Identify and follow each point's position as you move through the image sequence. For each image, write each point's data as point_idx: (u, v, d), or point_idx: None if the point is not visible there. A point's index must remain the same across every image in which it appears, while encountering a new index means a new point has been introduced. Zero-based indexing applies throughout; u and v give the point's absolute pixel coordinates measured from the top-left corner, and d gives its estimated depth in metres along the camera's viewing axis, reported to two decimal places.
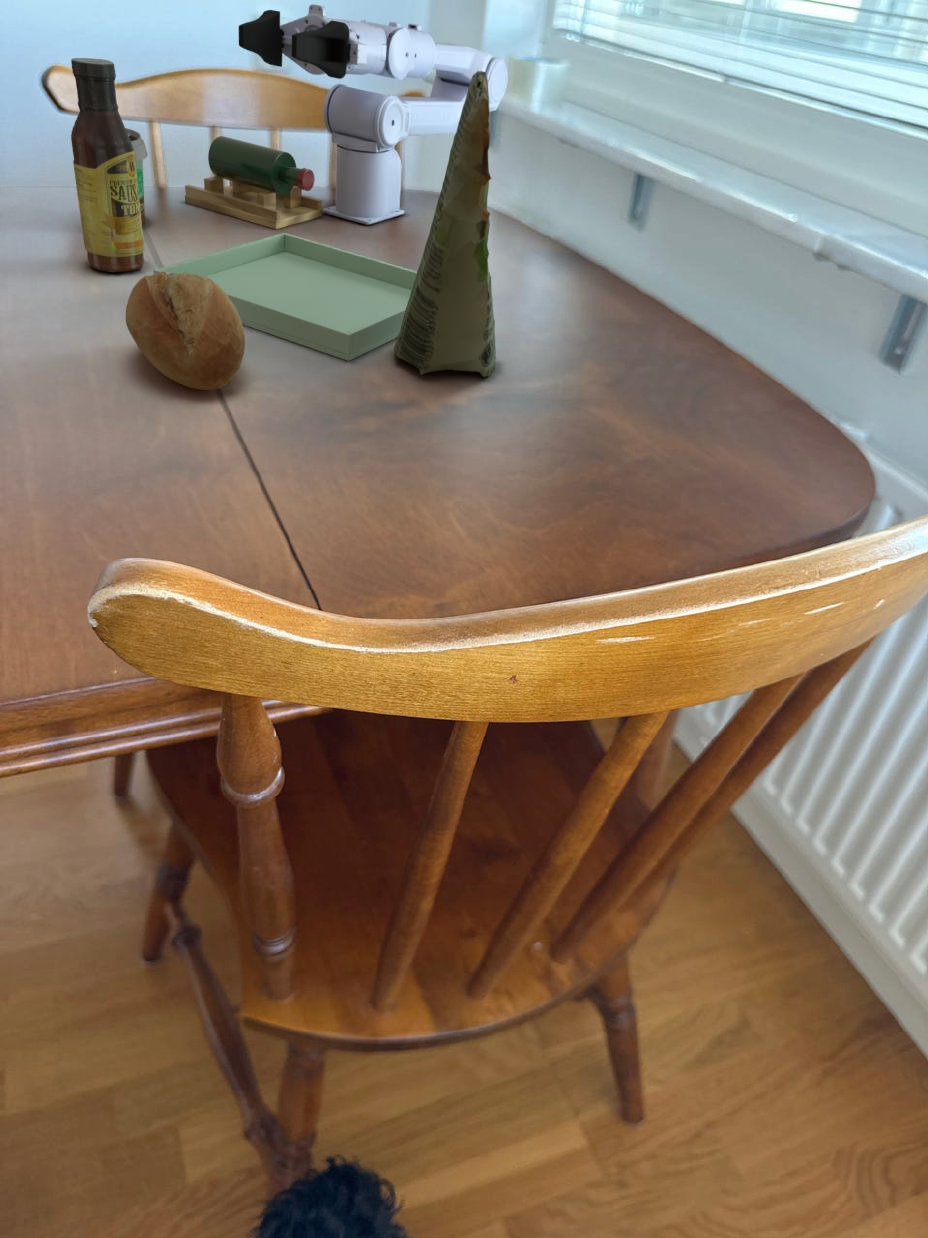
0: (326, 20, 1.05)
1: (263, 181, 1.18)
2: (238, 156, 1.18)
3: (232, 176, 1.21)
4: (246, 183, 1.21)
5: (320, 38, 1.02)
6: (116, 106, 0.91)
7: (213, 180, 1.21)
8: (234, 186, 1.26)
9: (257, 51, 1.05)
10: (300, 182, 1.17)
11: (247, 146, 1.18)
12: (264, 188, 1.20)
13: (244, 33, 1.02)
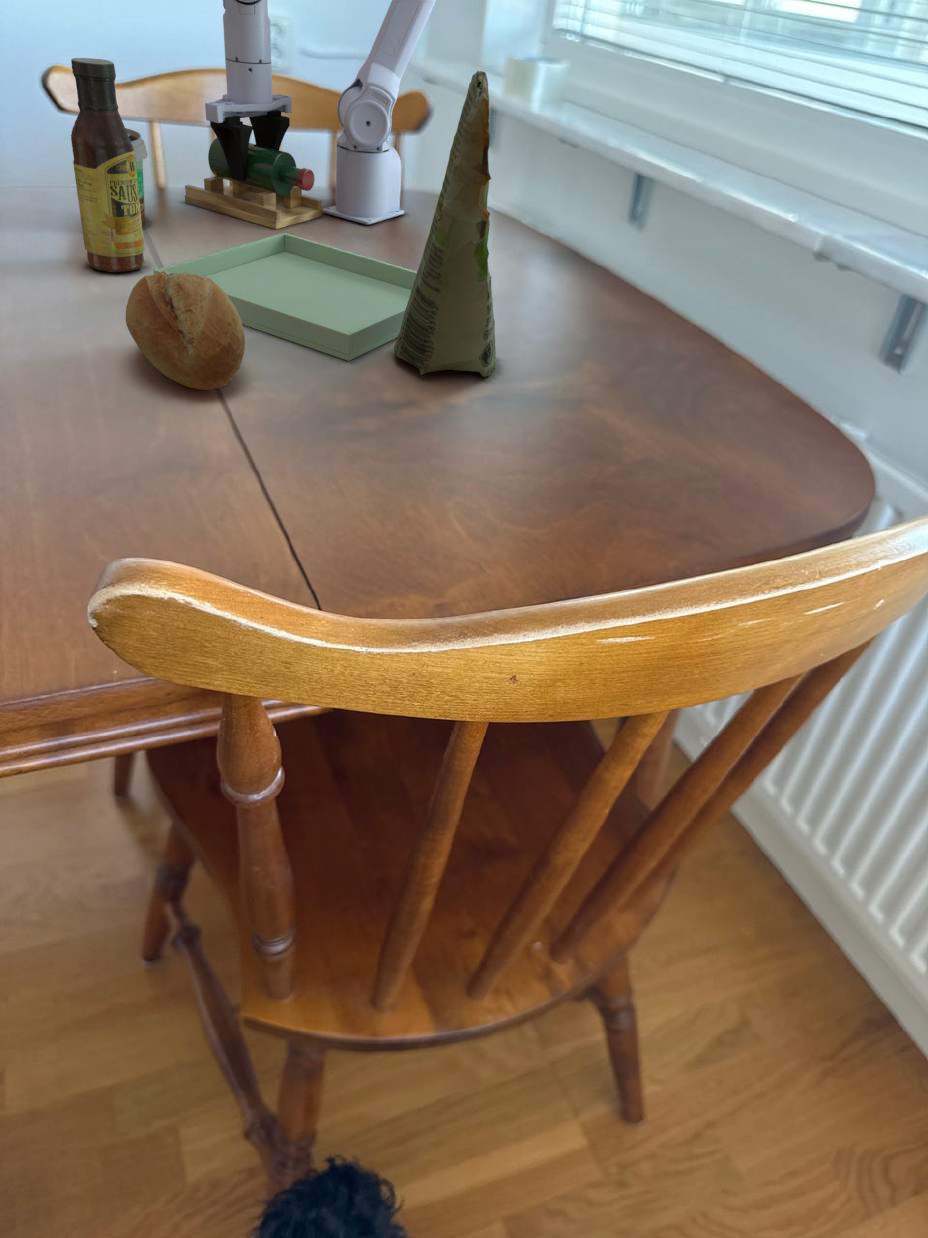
0: None
1: (263, 181, 1.18)
2: None
3: None
4: (246, 183, 1.21)
5: (228, 145, 1.17)
6: (116, 106, 0.91)
7: (213, 180, 1.21)
8: (234, 186, 1.26)
9: None
10: (300, 182, 1.17)
11: None
12: (264, 188, 1.20)
13: None
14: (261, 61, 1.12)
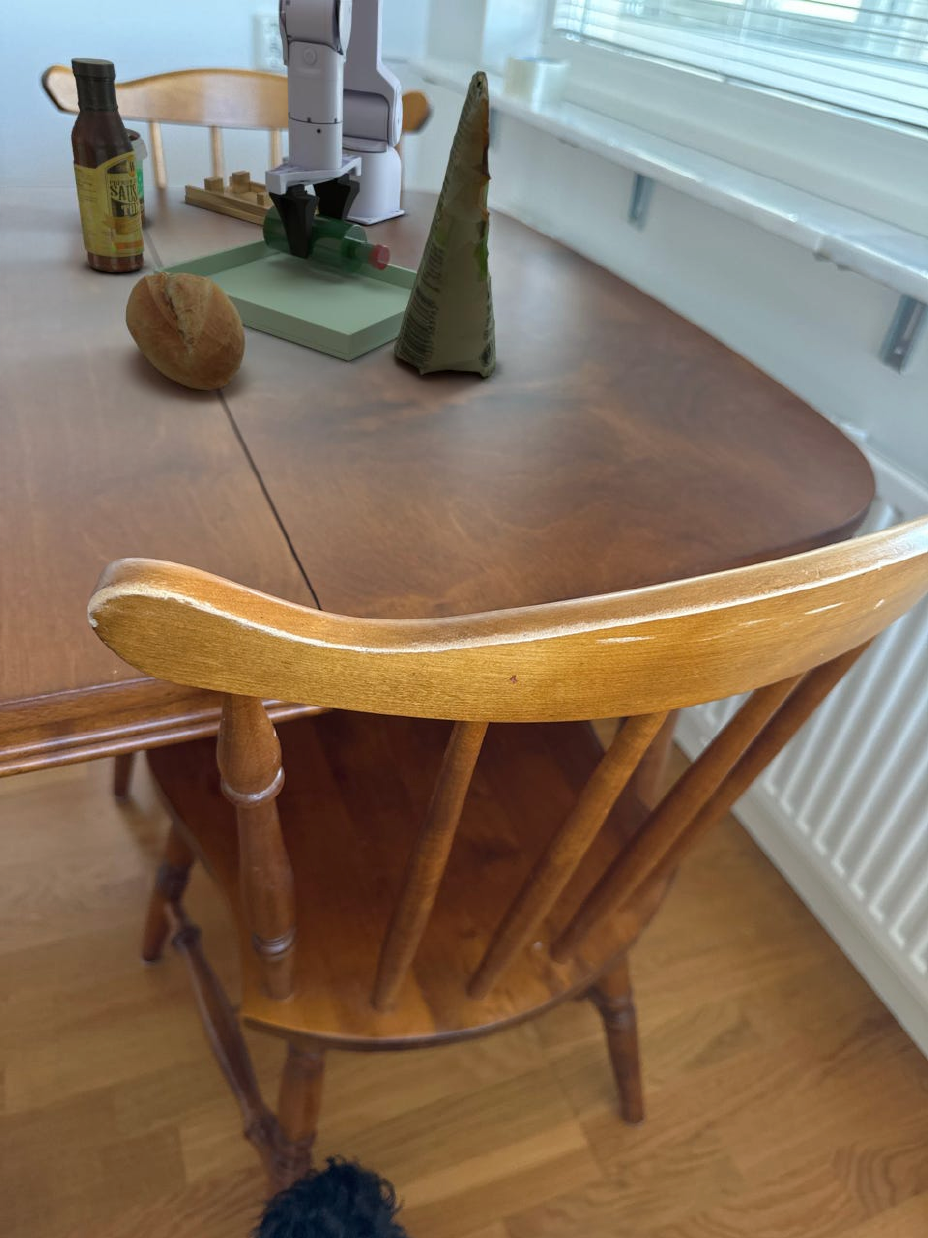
0: None
1: (329, 259, 1.00)
2: None
3: None
4: (307, 259, 1.02)
5: (289, 217, 0.99)
6: (116, 106, 0.91)
7: (213, 180, 1.21)
8: (234, 186, 1.26)
9: None
10: (374, 261, 0.98)
11: None
12: (329, 266, 1.01)
13: None
14: None
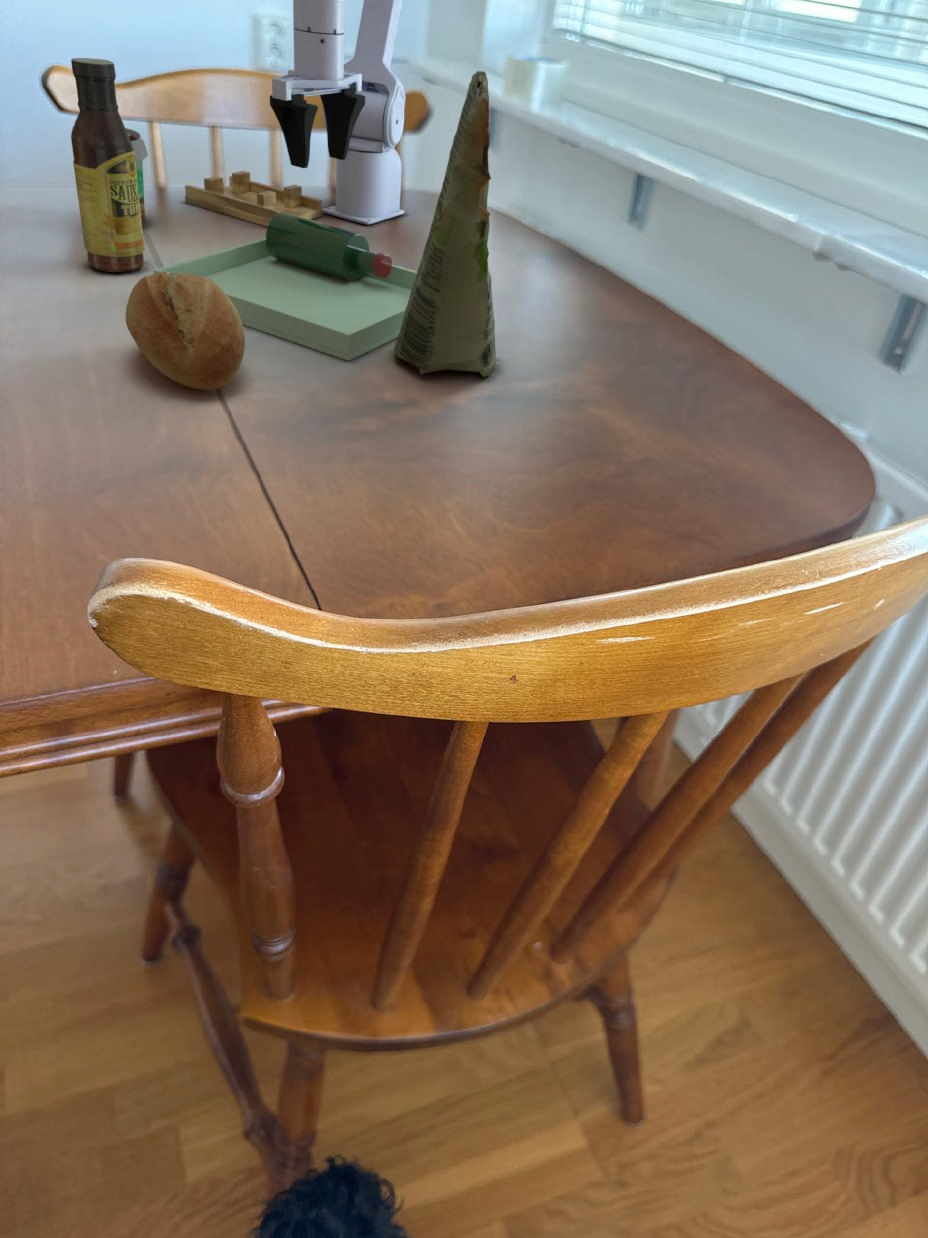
0: None
1: (330, 264, 1.00)
2: (303, 234, 1.01)
3: (292, 256, 1.03)
4: (308, 265, 1.03)
5: (289, 127, 1.04)
6: (116, 106, 0.91)
7: (213, 180, 1.21)
8: (234, 186, 1.26)
9: (346, 137, 1.10)
10: (376, 268, 0.99)
11: (315, 224, 1.01)
12: (330, 272, 1.02)
13: (334, 155, 1.12)
14: None
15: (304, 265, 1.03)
